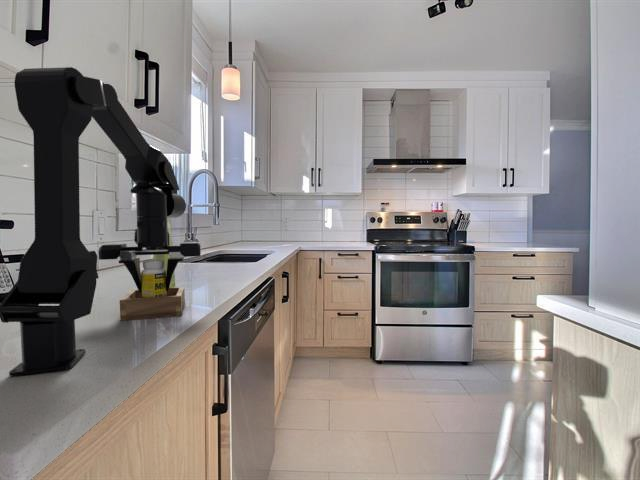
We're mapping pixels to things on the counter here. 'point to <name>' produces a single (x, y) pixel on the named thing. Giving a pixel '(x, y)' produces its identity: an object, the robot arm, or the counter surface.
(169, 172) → the robot arm
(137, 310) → the walnut box
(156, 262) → the supplement bottle
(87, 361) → the counter surface
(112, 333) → the counter surface
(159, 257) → the tube
